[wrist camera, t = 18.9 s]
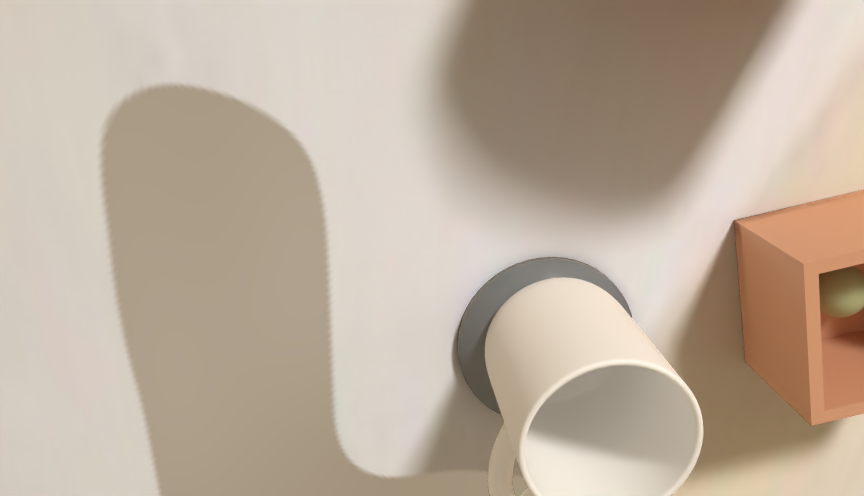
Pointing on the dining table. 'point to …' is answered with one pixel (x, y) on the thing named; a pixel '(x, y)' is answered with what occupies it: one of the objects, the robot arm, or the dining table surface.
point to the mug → (585, 398)
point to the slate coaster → (496, 295)
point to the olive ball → (841, 292)
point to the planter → (803, 304)
